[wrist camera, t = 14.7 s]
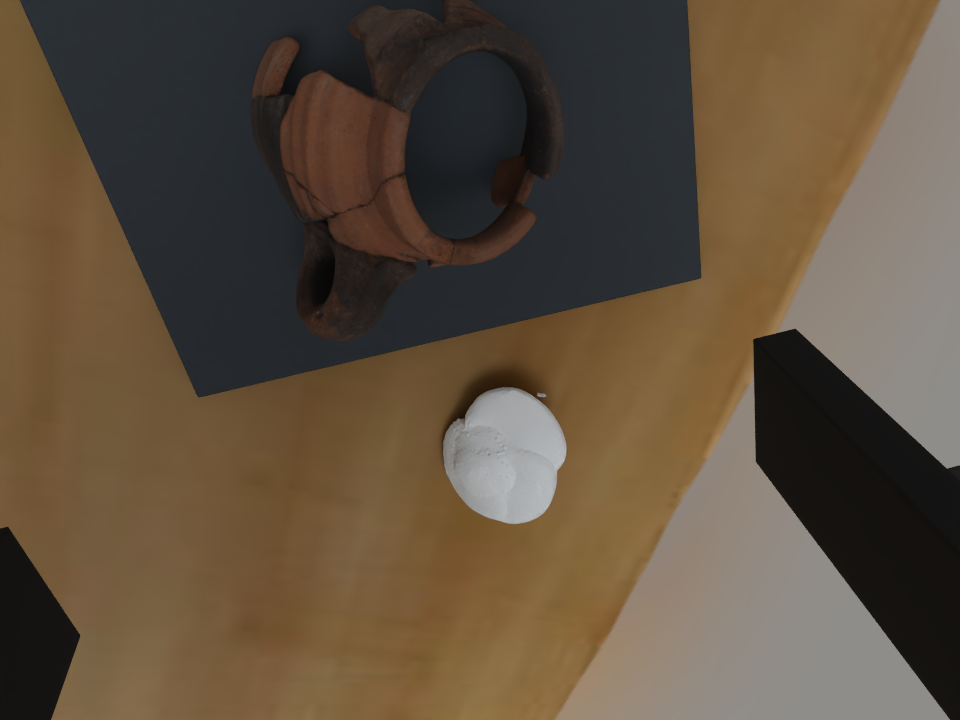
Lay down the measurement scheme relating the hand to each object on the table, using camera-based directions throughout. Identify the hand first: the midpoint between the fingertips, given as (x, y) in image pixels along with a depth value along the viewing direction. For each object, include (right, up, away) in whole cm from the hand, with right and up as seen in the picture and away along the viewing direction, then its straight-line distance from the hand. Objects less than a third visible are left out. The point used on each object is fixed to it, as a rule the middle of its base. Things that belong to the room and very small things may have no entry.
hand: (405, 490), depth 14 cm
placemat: (-1, +11, +16) cm, 19 cm away
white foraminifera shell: (+2, -1, +23) cm, 23 cm away
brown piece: (-2, +10, +16) cm, 19 cm away
